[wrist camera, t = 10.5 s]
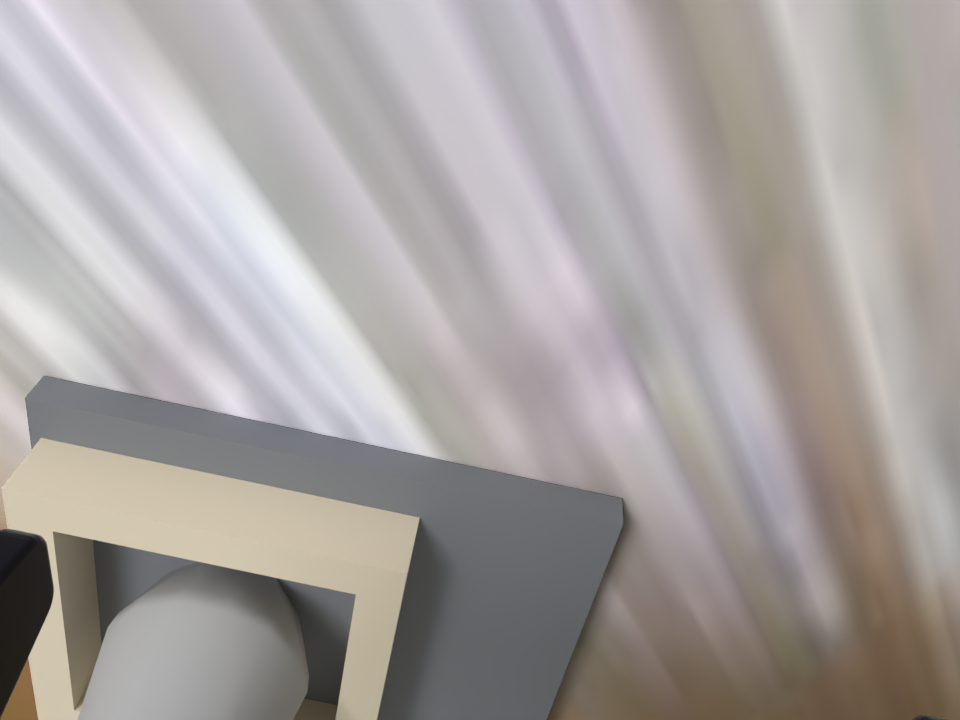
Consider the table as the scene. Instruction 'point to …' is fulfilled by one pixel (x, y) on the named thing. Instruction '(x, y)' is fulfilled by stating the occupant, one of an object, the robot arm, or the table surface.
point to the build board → (311, 553)
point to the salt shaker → (202, 651)
